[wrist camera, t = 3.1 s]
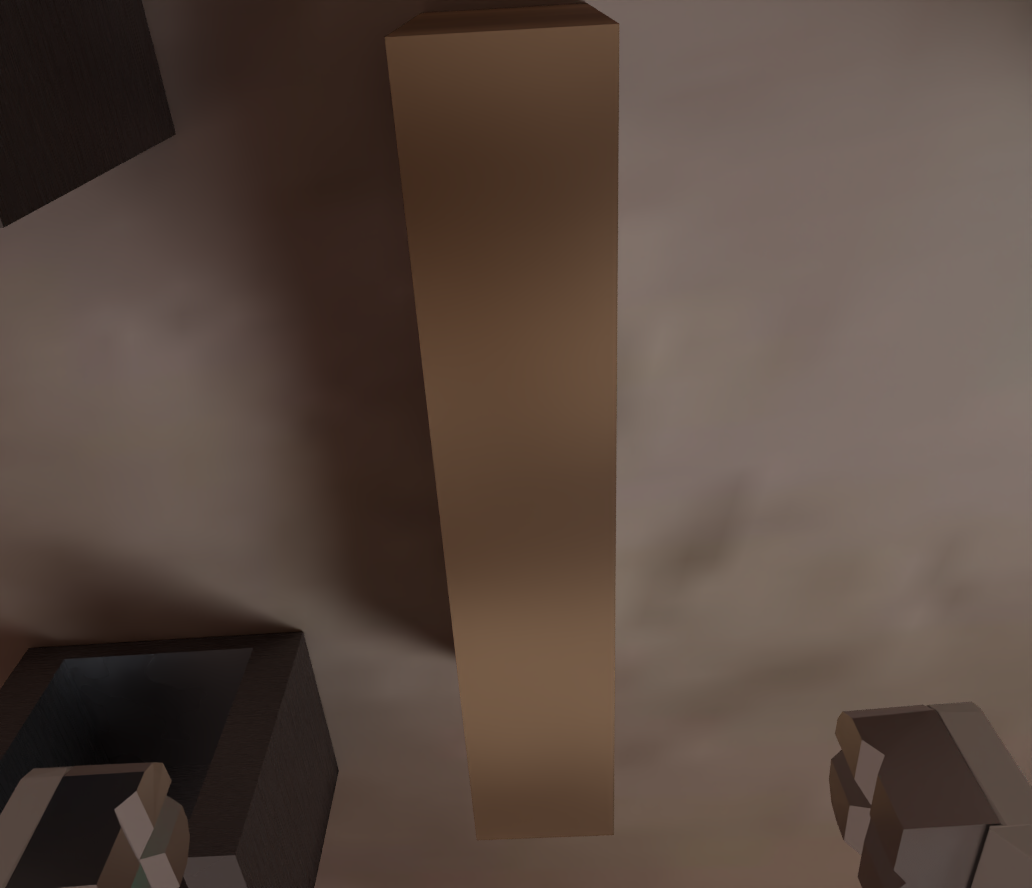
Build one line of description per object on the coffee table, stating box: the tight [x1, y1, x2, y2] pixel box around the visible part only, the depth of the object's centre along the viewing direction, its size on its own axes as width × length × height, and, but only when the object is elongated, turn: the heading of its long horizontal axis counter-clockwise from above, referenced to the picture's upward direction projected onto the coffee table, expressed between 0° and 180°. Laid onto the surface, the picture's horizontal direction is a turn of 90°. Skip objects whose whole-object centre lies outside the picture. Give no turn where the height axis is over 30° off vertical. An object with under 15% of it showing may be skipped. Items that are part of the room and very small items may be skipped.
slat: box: [385, 3, 619, 840], centre depth 17 cm, size 16×3×6 cm, turn 3°
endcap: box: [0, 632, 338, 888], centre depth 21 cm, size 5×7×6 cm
